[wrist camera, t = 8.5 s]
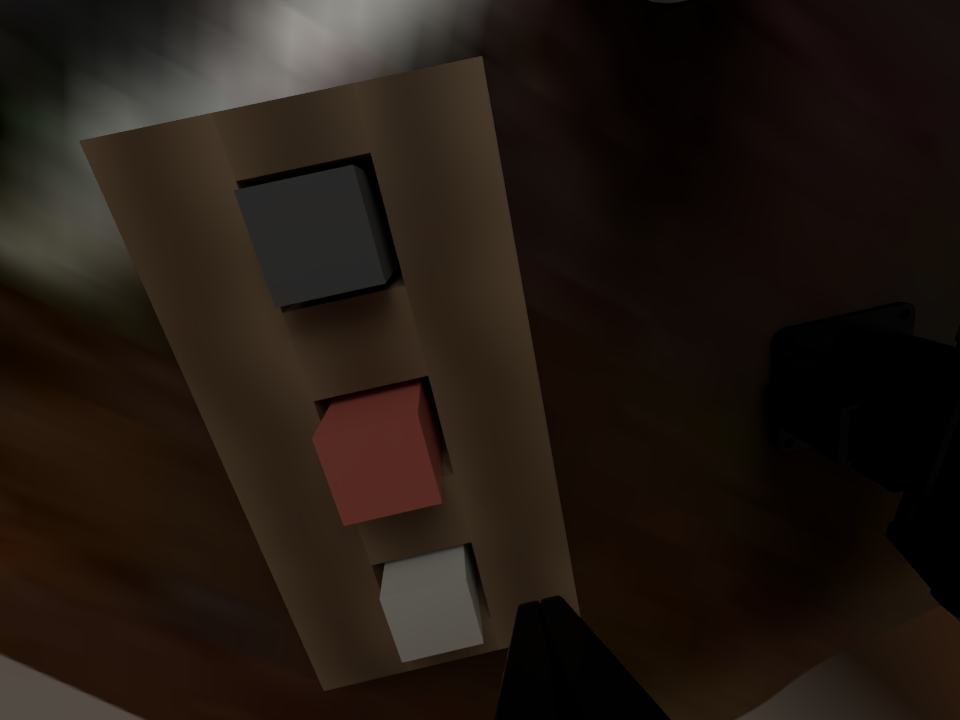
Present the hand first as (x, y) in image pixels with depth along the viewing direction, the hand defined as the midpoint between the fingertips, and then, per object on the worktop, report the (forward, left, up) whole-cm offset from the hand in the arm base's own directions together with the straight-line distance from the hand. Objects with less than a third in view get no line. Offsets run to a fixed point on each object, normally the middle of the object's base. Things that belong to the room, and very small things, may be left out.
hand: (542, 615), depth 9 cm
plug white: (+4, +8, -13) cm, 15 cm away
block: (+4, 0, -13) cm, 14 cm away
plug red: (+4, 0, -12) cm, 12 cm away
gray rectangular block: (+4, -7, -13) cm, 15 cm away
